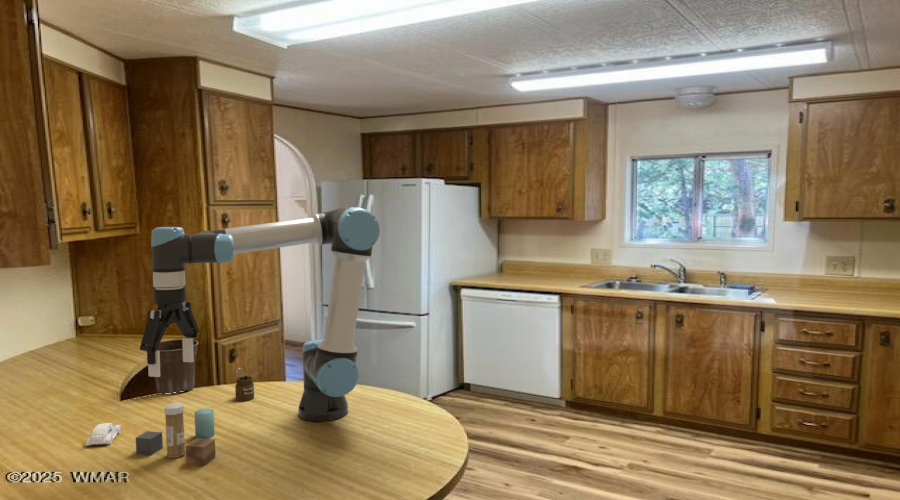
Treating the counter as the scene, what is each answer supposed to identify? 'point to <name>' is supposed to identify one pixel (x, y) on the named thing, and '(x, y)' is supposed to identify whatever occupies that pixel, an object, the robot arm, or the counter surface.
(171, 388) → the plant pot
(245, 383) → the utensil holder
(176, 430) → the sprinkles bottle
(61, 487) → the counter surface
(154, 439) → the black plastic cube
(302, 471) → the counter surface
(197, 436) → the teal cylinder
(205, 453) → the walnut block
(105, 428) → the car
